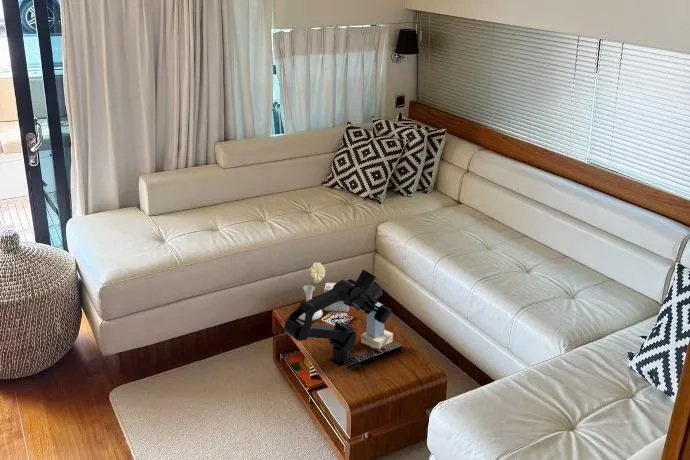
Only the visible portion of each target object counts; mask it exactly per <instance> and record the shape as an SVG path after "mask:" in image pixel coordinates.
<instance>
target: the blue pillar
mask: <svg viewBox="0 0 690 460" xmlns="http://www.w3.org/2000/svg"><path fill="white" fill-rule="evenodd" d="M381 305H383V303H380V302H378V301H377V304H376V306H378V307H380V306H381ZM375 309H376V308H375ZM377 310H378V309H377ZM375 314H376V312H375V311H372V312H370V313H369V315H368V314H366V331H367V334H368V335H370V336H372V337H373V338H377V337H379V336H381V335H383V334H384V330H385V323H384V324H382V323H380V322H378V321H377V320H375V319H374V315H375Z"/></svg>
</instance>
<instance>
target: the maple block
mask: <svg viewBox="0 0 690 460" xmlns="http://www.w3.org/2000/svg"><path fill="white" fill-rule="evenodd" d="M360 336H361V337H360V338H361V339H360V340H361V341H360V342H361V344H364V345H366V346H368V347H371V348H373V349H375V348H378V349H380V348H381V347H383V346H385V345H386V346H387V344H388V345H389V344H391V343H392V342H393V341H394V333H393V332H390V331H389V330H387V329H384V334H383V335H381V336H379V337H377V338H373V337H372V336H370V335H368V334H367V330H366V331H365V332H363V333H362V334H361V335H360ZM386 346H385V347H386Z"/></svg>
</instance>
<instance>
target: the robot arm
mask: <svg viewBox="0 0 690 460" xmlns="http://www.w3.org/2000/svg"><path fill="white" fill-rule="evenodd" d="M376 280H377V276H375V275H374V274H372V273H370V272H369V271H367V270H366V269H362V270H361V273H360V274H359V275H358V278H357V279H356V280H354V279H351V278H350V279H341V280H339V281H338V282H335V283H336V284H335V285H334V286H333V288H332V289H331V290H329V291H327V292H325V293H324V292H323V293H322V294H319V295H317V296H314V297H312V299H310V300H308V301H306V300H304V301H302V302H301V303H299V304H300V305H299V306H298V307H297V309H295V310H294V311H293V312H292V313H290V315H289V316H288V318H287V319H286V321H285V323H284V326H283V331H284V333H285V334H287V335H288V336H290V337H291V338H292V339H293V340H295V341H297V342H302V341H307V340H308V339H309V338H313V339H314V338H315V339H326V340H328V342H329V345H332V356H331V357H330V358H329V360H330V361H333V363H335V364H337V365H338V366H340V367H341V366H344V365H345V364H344V362H345V361H347V360H349V359H350V358H353V357H351V356H352V350H353V349H354V347H355V343H356V340H357V331H356V330H355V329H354V327H351V326H349V325H348V324H346V323H345V322H338V321H335V324H334V326H326V325H318V324H313V321H312V317H313V315H314V314H315V312H317V311H319V310H324V308H326V307H328V306H330V305H332V304H334V303H336V302H338V301H344V304H345V305H347V306H349V308H350V307H352V308H353V309H355V310H357V311H361V312H363V313H365V314H366V315H367V314H368V315H369V313H370V312H372V311H375V312H376V314H375V315H374V319H375V320H377V321H378V322H380V323H382V324H384V325H385V323H386V322H389V320H390V317H389V316H391V313H392V309H391V308H389V307H387V306H385V305H384V304H382V305H381V306H380V307H378V306H376V304H377V302H378V300H379V298H380V297H382V296H383V295H384V293H383V289H382V287H381V286H380V285H378V284H375V282H376ZM375 308H376V309H375ZM377 309H378V310H377ZM303 313H305V320H303V322H302V320H299V318H298V317H299V316H301V315H302V314H303ZM343 364H344V365H343Z"/></svg>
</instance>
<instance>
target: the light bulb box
mask: <svg viewBox="0 0 690 460" xmlns="http://www.w3.org/2000/svg"><path fill="white" fill-rule="evenodd" d="M336 283H337V282H326V283H325V284H324V285H325V286H324V289H323V293H325V292H327V291H329V290H331V289H332V288H333V286H334V285H335V284H336ZM323 310H324V311H325V312H326V311H328V312H342V311H343V313H345V312H346V313H349V310H350V307H349V306H347V305H345V304H344V301H338V302H336V303H334V304H332V305H330V306H328V307H326V308H323Z"/></svg>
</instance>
